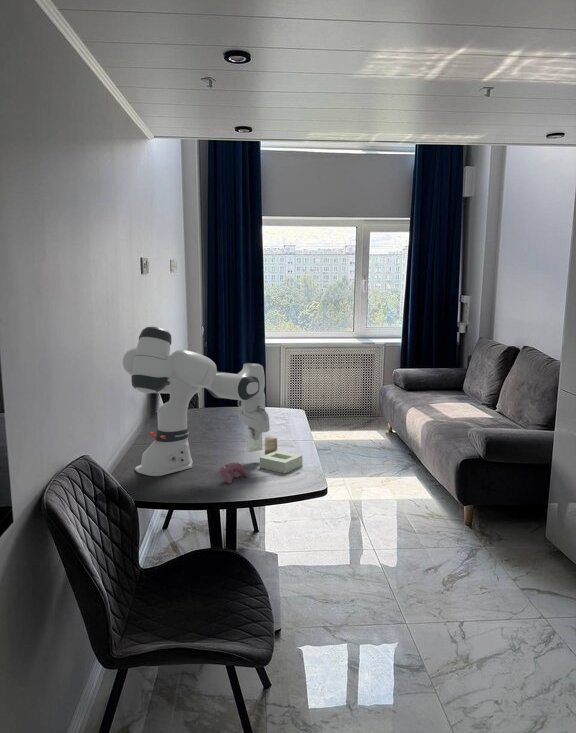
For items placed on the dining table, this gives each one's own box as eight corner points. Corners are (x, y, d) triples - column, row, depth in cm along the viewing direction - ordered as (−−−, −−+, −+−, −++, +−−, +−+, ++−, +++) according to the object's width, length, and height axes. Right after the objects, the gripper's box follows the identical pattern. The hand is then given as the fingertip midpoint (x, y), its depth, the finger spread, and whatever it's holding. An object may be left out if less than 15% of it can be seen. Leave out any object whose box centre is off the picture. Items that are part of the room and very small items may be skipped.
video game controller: (242, 479, 216) (235, 461, 217) (250, 476, 213) (243, 457, 214) (222, 487, 208) (216, 468, 209) (230, 483, 206) (224, 464, 207)
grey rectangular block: (262, 449, 232) (262, 427, 231) (249, 451, 229) (249, 429, 228) (259, 448, 234) (259, 426, 233) (247, 450, 232) (246, 428, 230)
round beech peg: (272, 460, 233) (271, 440, 231) (262, 458, 236) (262, 438, 234) (280, 457, 237) (279, 438, 235) (270, 455, 240) (269, 436, 238)
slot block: (285, 473, 217) (284, 462, 217) (259, 467, 224) (259, 457, 224) (302, 465, 226) (302, 455, 225) (277, 460, 233) (277, 450, 232)
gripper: (273, 408, 221) (273, 443, 224) (250, 398, 239) (250, 431, 241) (258, 410, 218) (258, 446, 221) (235, 400, 236) (236, 433, 238)
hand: (254, 438), depth 231 cm, fingers closed on grey rectangular block, 2 cm apart
